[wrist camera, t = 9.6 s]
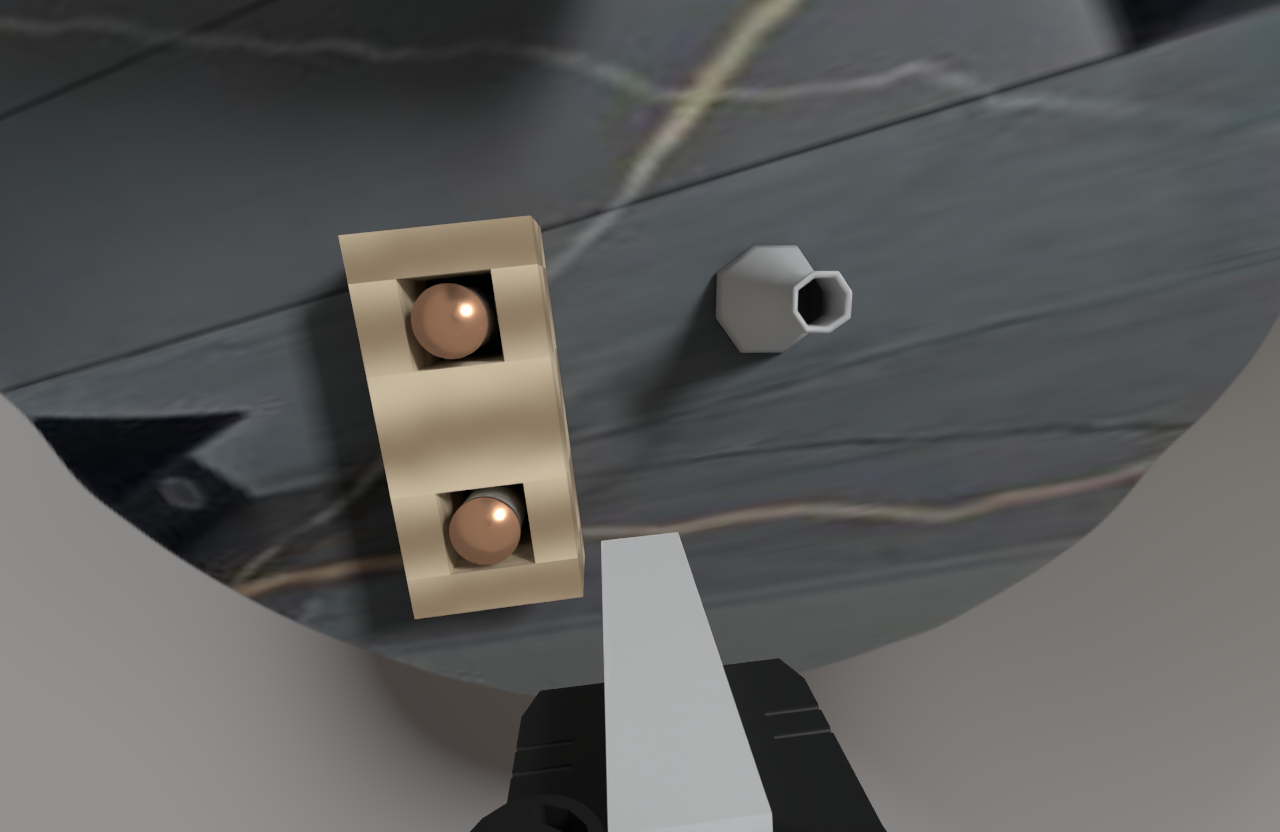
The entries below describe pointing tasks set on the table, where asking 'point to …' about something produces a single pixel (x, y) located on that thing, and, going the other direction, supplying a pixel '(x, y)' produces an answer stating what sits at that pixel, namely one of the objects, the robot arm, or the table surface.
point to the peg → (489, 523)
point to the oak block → (468, 412)
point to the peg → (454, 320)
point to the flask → (778, 299)
